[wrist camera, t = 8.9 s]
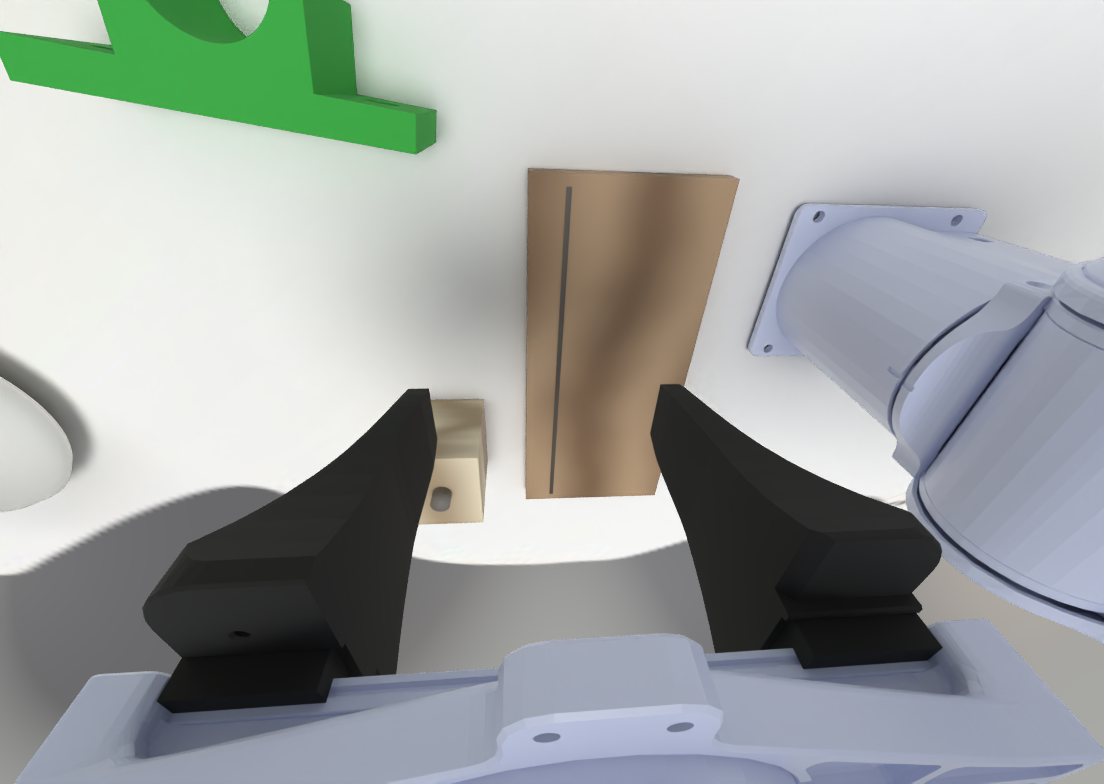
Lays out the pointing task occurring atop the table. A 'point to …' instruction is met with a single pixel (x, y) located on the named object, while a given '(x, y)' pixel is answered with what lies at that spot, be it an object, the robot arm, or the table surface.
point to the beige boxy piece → (457, 464)
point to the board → (612, 318)
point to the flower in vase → (29, 451)
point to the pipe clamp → (227, 69)
